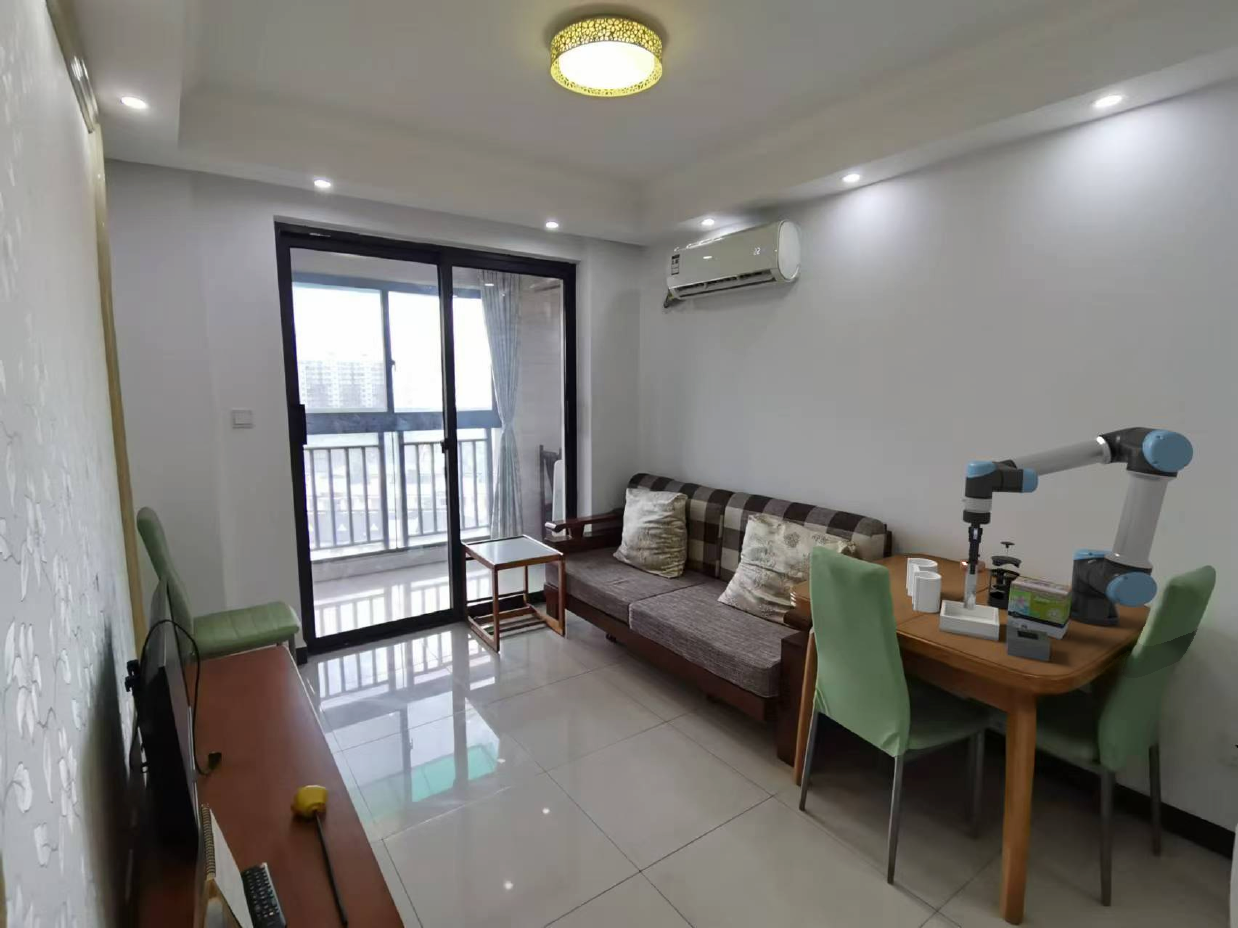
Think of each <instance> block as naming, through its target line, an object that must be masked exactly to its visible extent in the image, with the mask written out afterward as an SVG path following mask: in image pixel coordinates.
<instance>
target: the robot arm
mask: <svg viewBox="0 0 1238 928" xmlns="http://www.w3.org/2000/svg"><path fill="white" fill-rule="evenodd" d="M1193 458H1194V448H1193V445H1192V443H1191V441H1190V440H1189V439H1188V438H1187V437H1186V436H1185V435H1184V434H1182V433H1180V432H1176V431H1172V430H1169V429H1159V428H1149V427H1144V426H1134V427H1133V426H1132V427H1127V428H1123V429H1118V430H1114V431H1110V432H1106V433H1103V434H1099V435H1094V436H1092V438H1091V440H1087V441H1082V442H1077V443H1074V444H1070V445H1066V446H1065V445H1064V446H1061V447H1057V448H1056V447H1055V448H1051V449H1048V450H1045V451H1044V450H1043V451H1038V452H1036V453H1035V452H1034V453H1032V454H1026V455H1023V456H1018V457H1013V458H1010V459H1005V460H1000V461H994V460H991V461H989V460H988V461H987V460H986V461H985V460H972V461H970V462H968V463H967V467H966V472H965V483H964V484H965V487H964V489H965V490H964V498H962V499H961V501H962V502H964V503H963V508H964V509H963V510H962V521H963V522H964V523H967V524H970V526H968V527H967V528H968V532H967V534H968V539H967V540H968V542H969V549H968V557H967V559H969V560H968V561H966V563H967V564H968V569H967V582H966V583H969V584H976V582H977V583H978V576H977V570H978V560H979V558H981V554H980V553H979V552H980V544H981V543H982V536H983V531H984V528H983V527H981V526H982V525H984V526H985V525H988V524H990V523H991V515H992V513H991V512H990V511H992V509H993V507H992V504H993V494H994V493H1014V494H1015V493H1016V494H1019V493H1020V494H1028V493H1029V494H1030V493H1034V492H1035V491H1036V490H1037V488H1038V485H1039V477H1041V476H1046V475H1049V474H1054V473H1059V472H1063V471H1069V470H1072V469H1077V468H1081V467H1086V466H1090V465H1094V464H1096V465H1097V464H1100V465H1103V466H1104V465H1105V466H1106V465H1108V464H1110V465H1111V464H1117V463H1119V464H1120V463H1122V464H1126V468H1125V472H1126V473H1127V474H1128V475H1129V476H1130V477H1129V483H1128V487H1127V491H1126V495H1125V499H1124V503H1123V507H1122V511H1121V514H1120V518H1119V523H1118V525H1117V531H1116V535H1115V537H1114V543H1113V547H1112V550H1103V549H1092V548H1091V549H1088V548H1084V549H1083V548H1082V549H1077V550H1076V551H1075V553H1074V555H1073V559H1072V561H1073V563H1072V564H1073V566H1072V573H1071V575H1072V576H1071V584H1070V585H1071V586H1070V587H1072V596H1071V605H1070V613H1069V619H1071V620H1073V621H1076V622H1080V623H1083V624H1088V625H1093V626H1098V627H1099V626H1101V627H1114V626H1118V625H1119V624H1120V619H1121V615H1120V611H1119V609H1118V605H1119V606H1122V607H1127V608H1138V607H1142V606H1144V605H1146V604H1148V603H1150V602H1151V601H1153V599H1154V598H1155V597H1156V594H1157V592H1158V585H1157V582H1156V581H1155V578H1153V577H1152V573H1153V568H1154V565H1153V564H1152V562H1150V560H1149V557H1150V553H1151V550H1152V545H1153V543H1154V542H1153V541H1154V539H1155V534H1156V532H1157V531H1156V530H1157V527H1158V522H1159V518H1160V515H1161V512H1162V508H1163V505H1164V504H1163V503H1164V500H1165V495H1166V491H1167V489H1168V484H1169V483H1170V482H1172V481H1175V479H1177V477H1178V475H1179V474H1178V473H1179V471H1181V470H1183V469H1184V468H1185V467H1188V465H1189V464H1190V463H1191V461H1192V459H1193Z"/></svg>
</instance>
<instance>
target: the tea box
mask: <svg viewBox="0 0 1238 928" xmlns="http://www.w3.org/2000/svg"><path fill="white" fill-rule="evenodd" d="M1016 577H1017V576H1016ZM1071 596H1072V587H1071V586H1067V585H1062V584H1058V583H1053V582H1049V581H1048V582H1047V581H1042V580H1038V579H1037V580H1036V579H1033V578H1028V577H1022V576H1020V577H1017V578H1016V579H1015V580H1014V581H1011V586H1010V595H1009V604H1008V610H1007V615H1006V627H1007V626H1011V627H1017V628H1023V629H1029V630H1035V631H1041V632H1047V635H1048V637H1050V638H1054V639H1058V640H1062V638H1063V636H1064V635H1065V634H1066V632H1067V631H1068V627H1069V621H1070V618H1069V613H1070V605H1071Z"/></svg>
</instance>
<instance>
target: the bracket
mask: <svg viewBox="0 0 1238 928" xmlns="http://www.w3.org/2000/svg"><path fill="white" fill-rule="evenodd" d="M938 565H939V564H938V563H937V561H934V560H931V559H927V558H919V557H917V558H914V557H913V558H911V557H908V558H907V565H906V566H907V569H906V570H907V571H906V587H905V589H906V590H907V596H910V597H912V598H911V604H912V605H913V610H914V611H919V612H922V613H926V614H927V613H928V614H929V613H930V614H931V613H933V614H934V613H938V612H939V611H940V603H941V590H942V589H941V588H942V587H941V586H942V575H940V574H939V573H938Z"/></svg>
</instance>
